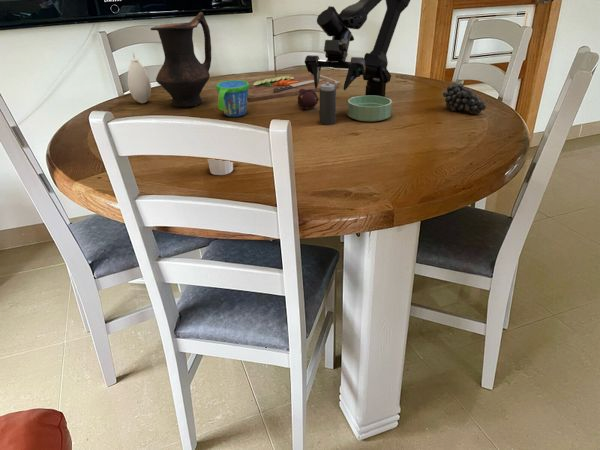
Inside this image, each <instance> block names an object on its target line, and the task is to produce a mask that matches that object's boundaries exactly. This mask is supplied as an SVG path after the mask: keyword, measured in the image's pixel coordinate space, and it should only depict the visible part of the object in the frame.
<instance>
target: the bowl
mask: <svg viewBox="0 0 600 450" xmlns="http://www.w3.org/2000/svg"><path fill="white" fill-rule="evenodd" d="M386 97H387V96H386ZM386 97H382V96H375V95H356V96H352V97H350V98H348V99H347V116H348V117H349V118H351V119H353V120H356V121H361V122H380V121H383V120H386V119H389V118H391V116H392V109H393V107H392V106H393V100H392V99H391V98H389V97H388V98H386Z"/></svg>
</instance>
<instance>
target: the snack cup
mask: <svg viewBox="0 0 600 450" xmlns="http://www.w3.org/2000/svg"><path fill="white" fill-rule="evenodd" d="M246 81H247V80H241V79H229V80H224V81H220V82H218V83H216V84H215V89H216V91H217V92H218V101H217V108H218V109H219V110H220V111H223V115H225V116H226V117H229V118H230V117H231V118H235V117H241V116H245V114H246V113H247V109H248V101H247V98H248V97H249V94H248V88H249V83H248V82H246Z"/></svg>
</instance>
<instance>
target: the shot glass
mask: <svg viewBox="0 0 600 450" xmlns="http://www.w3.org/2000/svg"><path fill="white" fill-rule="evenodd" d="M207 163H208V164H207V165H208V168H209V173H210V174H212V175H215V176H225V175H228V174H231V173H232V172H233V171H234V161H233V162H230V161H222V160H215V159H207Z"/></svg>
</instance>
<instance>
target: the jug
mask: <svg viewBox="0 0 600 450" xmlns="http://www.w3.org/2000/svg"><path fill="white" fill-rule="evenodd" d="M199 24H200V25H201V28H202V31H203V39H204V62H202V63H201V62H200V60H198V58H197V56H196V54H195V47H194V40H193V37H194V35H193V33H194V29H195V28H197V27H198V26H199ZM150 31H157V32H158V36H159V39H160V42H161V46H162V50H163V54H164V61H163V64H162V65H161V67H160V69H159V71H158V73H157V75H156V78H155V81H156V83H157V84H158V85H160V86H161V87H162V88H163V90H165V91H166V92H167V93H168V94H169V95H170V97H171V98H172V99H171V106H172V107H177V108H183V107H186V108H187V107H195V106H199V105H201V104H203V99H202V97H201V93H202V91H203V89H204V88H205V86H206V84H207V83H208V81H209V79H210V78H211V77H210V76H211V74H210V69H211V65H212V40H211V39H212V38H211V31H210V26H209V24H208V22H207V20H206V18H205V14H204V13H203V12H202V11H200V12H199V13H197V15H196V16H195V17H194V18H193V19H191V20H190V21H189V22H177V23H176V22H175V23H166V24H160V25H157V26H152V27H150Z"/></svg>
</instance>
